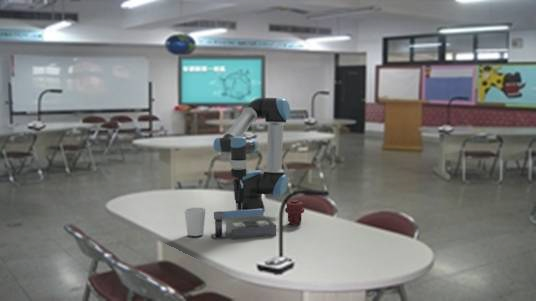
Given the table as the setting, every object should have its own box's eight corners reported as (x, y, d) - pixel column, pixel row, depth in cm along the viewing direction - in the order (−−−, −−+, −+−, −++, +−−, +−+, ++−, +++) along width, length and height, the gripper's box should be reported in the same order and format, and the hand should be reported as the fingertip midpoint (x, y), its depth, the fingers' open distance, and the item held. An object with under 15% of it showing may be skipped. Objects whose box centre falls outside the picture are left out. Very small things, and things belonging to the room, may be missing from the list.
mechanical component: (305, 222, 286) (302, 227, 277) (286, 221, 288) (283, 226, 279) (305, 199, 285) (302, 203, 275) (286, 198, 287) (283, 202, 277)
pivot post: (211, 235, 261) (210, 218, 260) (223, 234, 262) (223, 217, 261) (213, 239, 255) (213, 221, 254) (226, 238, 257) (226, 220, 256)
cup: (199, 239, 255) (199, 212, 254) (181, 237, 259) (180, 211, 257) (209, 233, 264) (208, 208, 263) (191, 231, 268) (190, 206, 266)
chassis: (225, 232, 266) (225, 222, 265) (268, 229, 273) (268, 218, 272) (232, 239, 255) (231, 228, 254) (276, 235, 261) (276, 224, 261)
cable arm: (215, 220, 255) (214, 213, 254) (212, 217, 259) (212, 211, 259) (264, 216, 262) (263, 210, 262) (261, 214, 267) (261, 208, 266)
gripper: (228, 166, 270) (228, 213, 273) (234, 170, 257) (235, 219, 260) (242, 166, 272) (242, 212, 275) (249, 169, 260) (250, 218, 263)
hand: (239, 215), depth 268 cm, fingers closed
